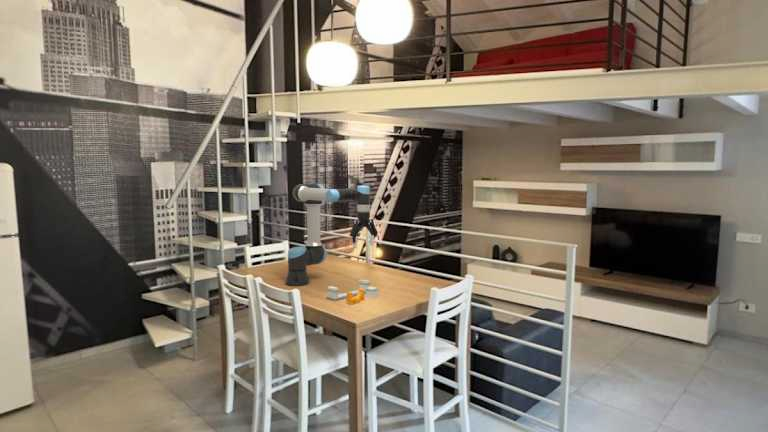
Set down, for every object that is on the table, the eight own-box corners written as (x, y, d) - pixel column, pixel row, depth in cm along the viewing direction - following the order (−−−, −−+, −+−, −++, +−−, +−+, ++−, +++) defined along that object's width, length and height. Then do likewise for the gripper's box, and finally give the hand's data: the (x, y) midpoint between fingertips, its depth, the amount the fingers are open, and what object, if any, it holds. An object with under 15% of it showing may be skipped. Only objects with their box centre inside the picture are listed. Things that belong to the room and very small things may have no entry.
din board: (326, 298, 286) (326, 296, 286) (361, 290, 306) (361, 288, 306) (335, 301, 281) (335, 298, 281) (370, 292, 301) (370, 290, 301)
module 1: (327, 297, 286) (327, 286, 285) (331, 296, 288) (331, 286, 287) (334, 299, 281) (334, 288, 281) (338, 298, 284) (338, 287, 283)
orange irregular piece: (352, 305, 273) (352, 293, 272) (346, 303, 276) (346, 292, 275) (366, 300, 282) (366, 289, 282) (360, 299, 285) (360, 288, 284)
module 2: (359, 289, 303) (359, 280, 303) (362, 288, 306) (362, 279, 305) (366, 291, 299) (366, 281, 299) (369, 290, 301) (369, 280, 301)
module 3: (365, 296, 292) (365, 288, 291) (370, 294, 296) (370, 286, 295) (372, 297, 289) (372, 289, 288) (377, 295, 293) (377, 287, 292)
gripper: (352, 213, 282) (352, 250, 284) (382, 210, 300) (382, 245, 302) (343, 212, 287) (343, 248, 289) (374, 210, 305) (374, 244, 307)
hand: (363, 246), depth 296 cm, fingers open, 13 cm apart
